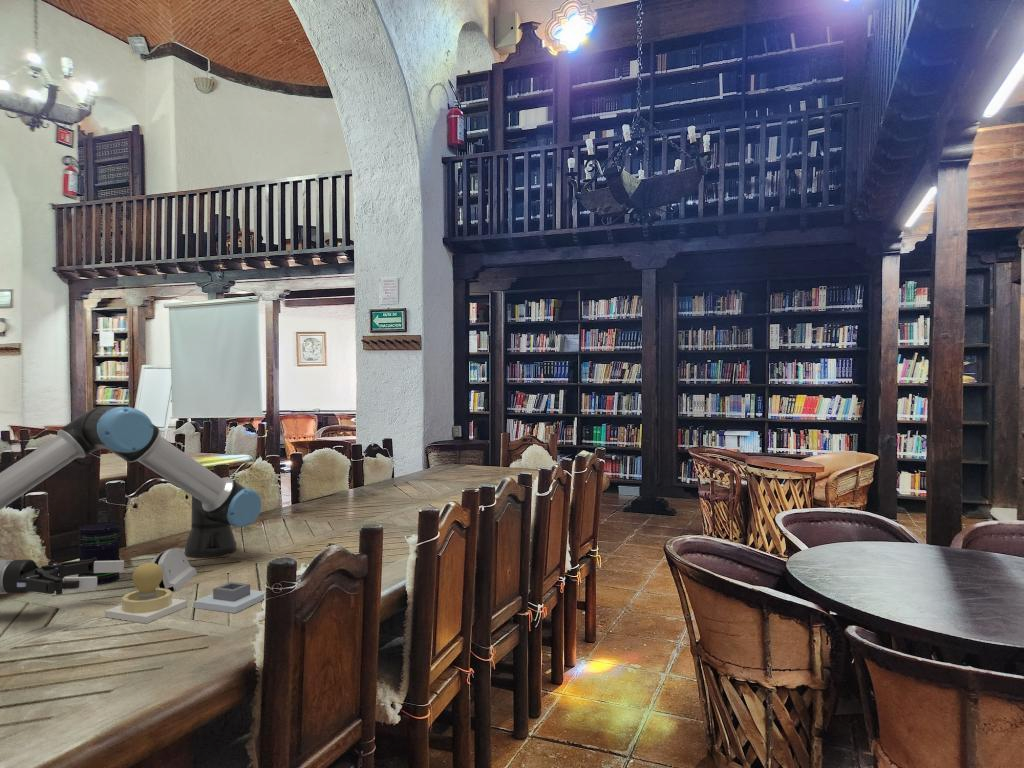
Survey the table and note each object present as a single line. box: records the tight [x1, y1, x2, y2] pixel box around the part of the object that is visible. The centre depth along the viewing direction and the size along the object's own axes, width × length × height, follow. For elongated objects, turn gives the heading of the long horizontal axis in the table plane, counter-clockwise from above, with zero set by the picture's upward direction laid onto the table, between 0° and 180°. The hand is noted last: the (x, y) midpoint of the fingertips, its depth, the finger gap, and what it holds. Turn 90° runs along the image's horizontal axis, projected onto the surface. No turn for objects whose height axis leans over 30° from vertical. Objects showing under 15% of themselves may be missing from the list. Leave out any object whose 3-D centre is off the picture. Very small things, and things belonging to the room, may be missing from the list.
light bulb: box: [131, 562, 163, 601], centre depth 153 cm, size 6×6×10 cm
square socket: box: [193, 581, 265, 614], centre depth 161 cm, size 12×12×4 cm
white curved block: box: [150, 547, 198, 592], centre depth 176 cm, size 17×5×10 cm, turn 9°
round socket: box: [104, 588, 188, 624], centre depth 153 cm, size 12×12×4 cm
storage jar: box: [77, 521, 122, 586], centre depth 177 cm, size 10×10×15 cm
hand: (110, 574), depth 152 cm, fingers open, 13 cm apart
